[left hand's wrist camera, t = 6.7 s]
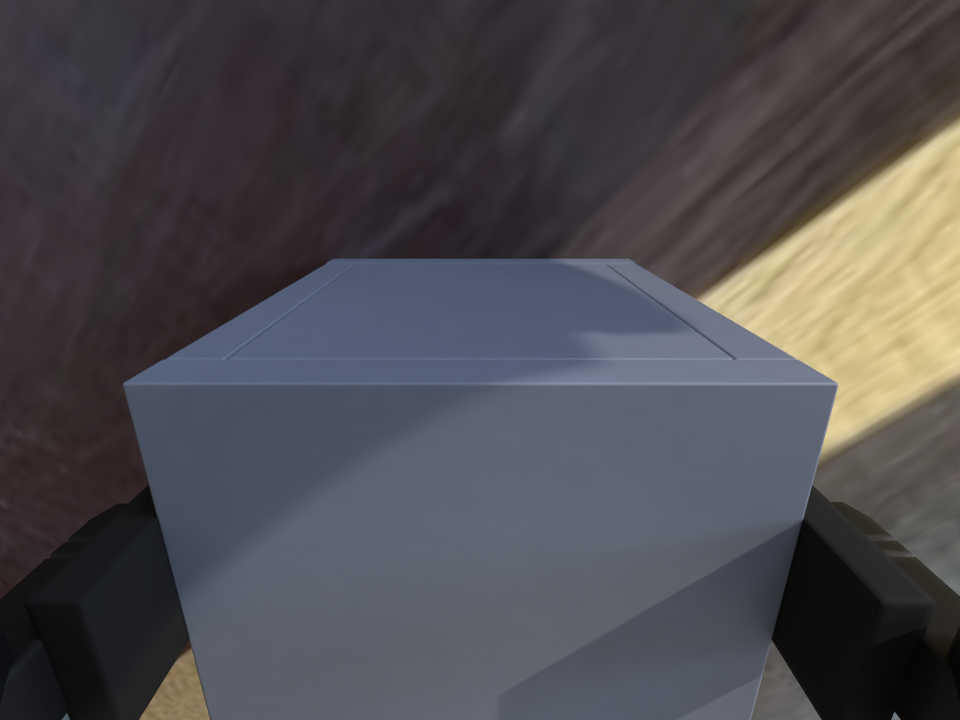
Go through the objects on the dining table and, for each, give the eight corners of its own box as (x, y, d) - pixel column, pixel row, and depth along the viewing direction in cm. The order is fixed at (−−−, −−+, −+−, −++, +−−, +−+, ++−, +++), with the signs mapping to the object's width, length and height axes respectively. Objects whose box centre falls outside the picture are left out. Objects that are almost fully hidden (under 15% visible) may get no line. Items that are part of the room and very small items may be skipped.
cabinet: (597, 577, 24) (697, 927, 13) (363, 577, 24) (263, 927, 13) (628, 258, 19) (841, 382, 8) (332, 258, 19) (119, 382, 8)
